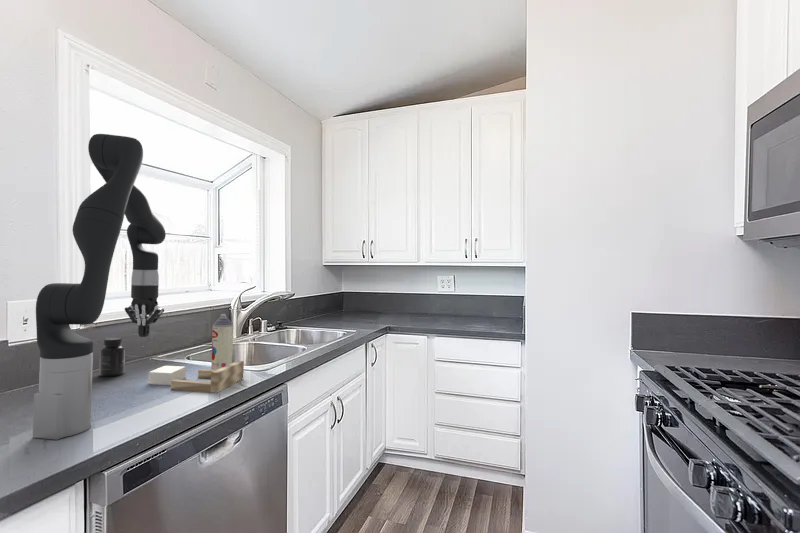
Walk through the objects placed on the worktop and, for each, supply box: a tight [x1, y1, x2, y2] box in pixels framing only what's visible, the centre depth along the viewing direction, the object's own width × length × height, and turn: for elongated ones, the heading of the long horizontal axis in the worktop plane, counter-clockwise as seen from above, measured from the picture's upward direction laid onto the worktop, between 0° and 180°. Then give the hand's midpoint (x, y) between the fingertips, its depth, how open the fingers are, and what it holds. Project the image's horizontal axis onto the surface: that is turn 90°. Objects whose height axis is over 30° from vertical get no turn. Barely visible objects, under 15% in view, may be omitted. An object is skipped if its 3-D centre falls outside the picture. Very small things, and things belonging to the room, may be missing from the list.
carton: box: [147, 365, 187, 386], centre depth 130 cm, size 8×7×4 cm
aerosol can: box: [211, 313, 234, 370], centre depth 144 cm, size 7×7×20 cm
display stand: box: [170, 360, 245, 394], centre depth 128 cm, size 15×15×6 cm
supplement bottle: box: [98, 337, 126, 378], centre depth 135 cm, size 7×7×12 cm
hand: (143, 336), depth 131 cm, fingers closed
